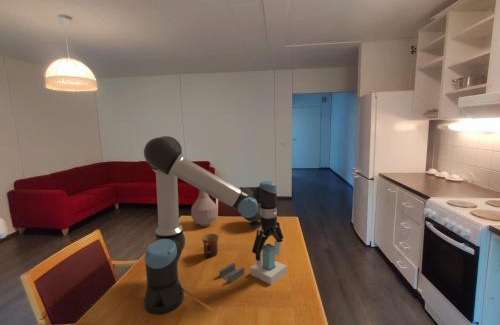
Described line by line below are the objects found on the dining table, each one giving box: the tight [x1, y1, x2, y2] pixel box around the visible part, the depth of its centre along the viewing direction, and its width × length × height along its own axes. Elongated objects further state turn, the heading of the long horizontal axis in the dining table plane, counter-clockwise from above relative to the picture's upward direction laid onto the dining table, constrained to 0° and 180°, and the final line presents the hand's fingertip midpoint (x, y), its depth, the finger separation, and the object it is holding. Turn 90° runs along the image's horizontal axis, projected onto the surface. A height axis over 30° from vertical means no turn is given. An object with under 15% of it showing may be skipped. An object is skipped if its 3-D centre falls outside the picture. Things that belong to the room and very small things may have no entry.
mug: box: [201, 233, 219, 259], centre depth 136 cm, size 12×9×10 cm
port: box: [249, 259, 288, 285], centre depth 119 cm, size 12×12×5 cm
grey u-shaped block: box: [218, 262, 245, 284], centre depth 118 cm, size 9×7×4 cm
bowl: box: [243, 204, 262, 229], centre depth 176 cm, size 20×19×15 cm
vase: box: [190, 189, 218, 227], centre depth 178 cm, size 18×18×30 cm
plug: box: [262, 243, 276, 271], centre depth 118 cm, size 4×4×14 cm
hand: (268, 260), depth 118 cm, fingers open, 13 cm apart
